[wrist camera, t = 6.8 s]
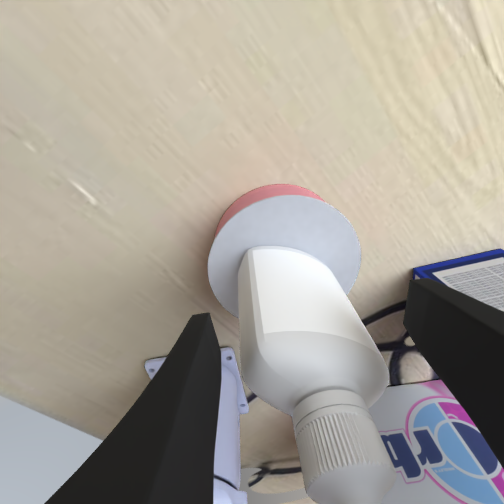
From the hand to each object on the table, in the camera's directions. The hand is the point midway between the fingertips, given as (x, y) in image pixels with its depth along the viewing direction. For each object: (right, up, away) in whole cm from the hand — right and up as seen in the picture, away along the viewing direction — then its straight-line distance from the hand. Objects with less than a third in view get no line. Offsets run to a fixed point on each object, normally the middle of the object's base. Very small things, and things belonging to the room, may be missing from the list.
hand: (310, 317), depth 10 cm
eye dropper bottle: (0, +1, +7) cm, 7 cm away
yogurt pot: (0, +3, +10) cm, 10 cm away
